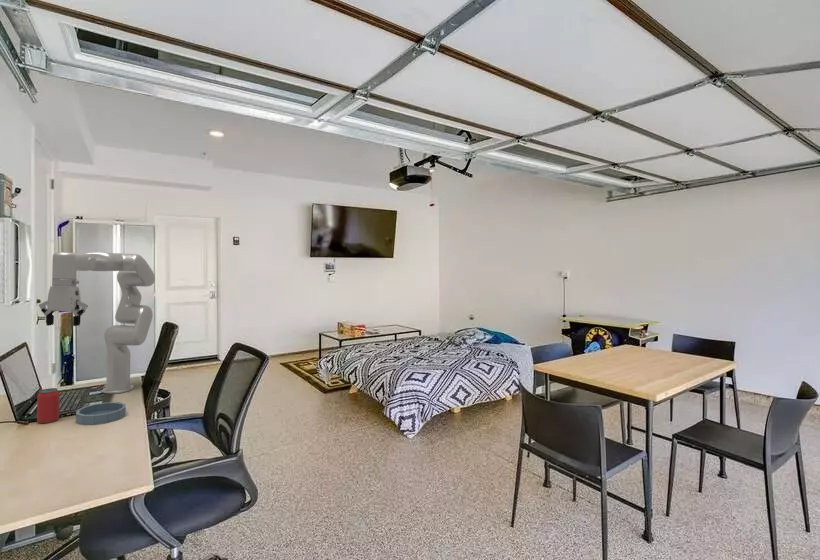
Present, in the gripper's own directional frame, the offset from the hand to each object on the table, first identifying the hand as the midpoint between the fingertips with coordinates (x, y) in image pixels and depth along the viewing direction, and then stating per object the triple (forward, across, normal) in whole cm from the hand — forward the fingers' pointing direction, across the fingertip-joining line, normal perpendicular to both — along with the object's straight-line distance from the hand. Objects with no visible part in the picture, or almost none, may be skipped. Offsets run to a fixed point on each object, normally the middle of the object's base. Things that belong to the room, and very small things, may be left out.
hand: (63, 325), depth 171 cm
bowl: (+36, -17, +3) cm, 40 cm away
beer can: (+37, +1, +6) cm, 37 cm away
